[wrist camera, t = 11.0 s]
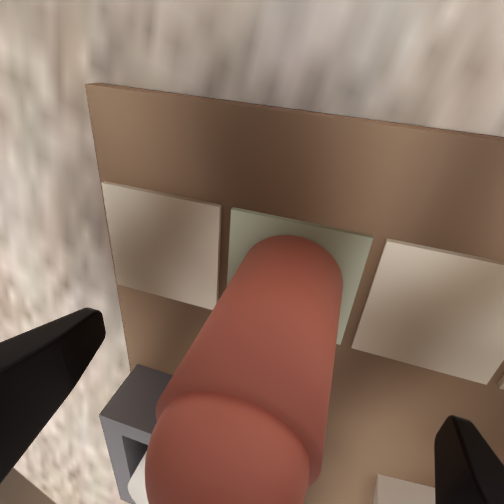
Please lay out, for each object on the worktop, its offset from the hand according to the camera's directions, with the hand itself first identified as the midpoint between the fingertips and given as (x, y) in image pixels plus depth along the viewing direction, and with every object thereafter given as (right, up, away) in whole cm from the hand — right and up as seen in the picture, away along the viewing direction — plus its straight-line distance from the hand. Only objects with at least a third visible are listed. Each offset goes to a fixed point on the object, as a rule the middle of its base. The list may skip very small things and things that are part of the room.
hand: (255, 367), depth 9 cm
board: (+4, -3, +6) cm, 8 cm away
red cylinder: (+1, +2, +3) cm, 4 cm away
